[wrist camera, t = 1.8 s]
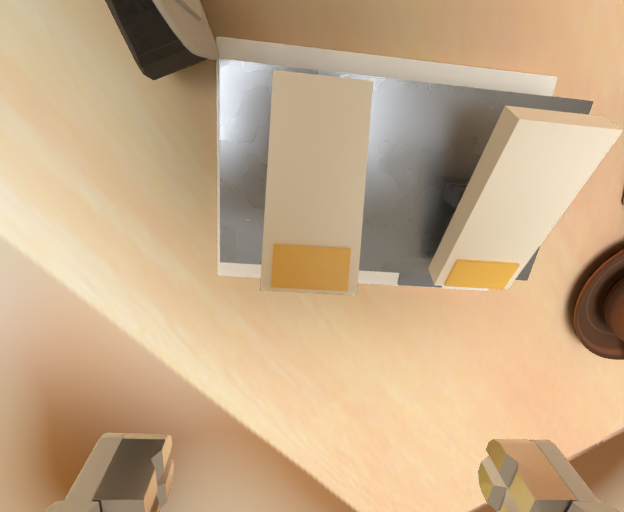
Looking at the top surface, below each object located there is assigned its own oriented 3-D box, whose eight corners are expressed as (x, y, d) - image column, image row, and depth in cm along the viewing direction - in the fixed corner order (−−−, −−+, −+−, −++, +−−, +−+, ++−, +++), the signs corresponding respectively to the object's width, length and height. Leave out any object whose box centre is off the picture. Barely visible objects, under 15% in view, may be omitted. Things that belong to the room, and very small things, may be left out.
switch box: (232, 66, 23) (211, 54, 16) (536, 100, 25) (627, 102, 18) (230, 233, 27) (213, 278, 20) (489, 251, 29) (548, 297, 22)
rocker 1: (273, 82, 18) (273, 67, 16) (366, 92, 18) (374, 79, 17) (261, 286, 18) (259, 291, 17) (351, 290, 19) (357, 296, 17)
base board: (218, 38, 23) (215, 35, 22) (548, 77, 25) (561, 76, 24) (219, 270, 29) (216, 277, 28) (482, 285, 31) (490, 292, 30)
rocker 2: (505, 105, 16) (521, 121, 15) (603, 116, 16) (626, 132, 15) (428, 268, 23) (435, 287, 21) (498, 272, 23) (509, 292, 22)
